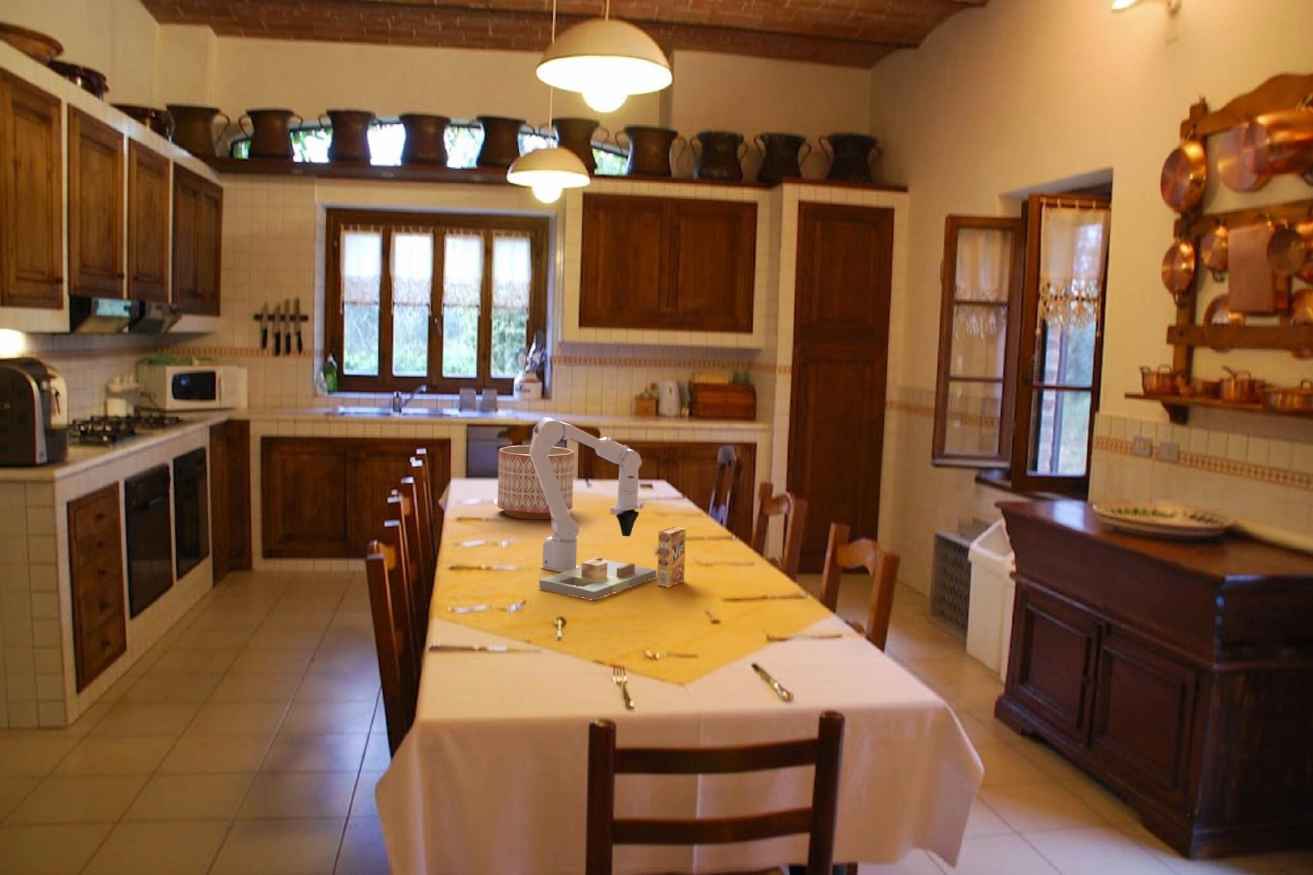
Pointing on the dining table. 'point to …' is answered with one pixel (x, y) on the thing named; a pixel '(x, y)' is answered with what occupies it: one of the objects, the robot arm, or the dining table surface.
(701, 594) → the dining table surface
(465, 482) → the dining table surface
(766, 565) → the dining table surface
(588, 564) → the maple block
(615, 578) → the tunnel deck
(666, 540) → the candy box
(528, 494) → the planter
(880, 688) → the dining table surface
